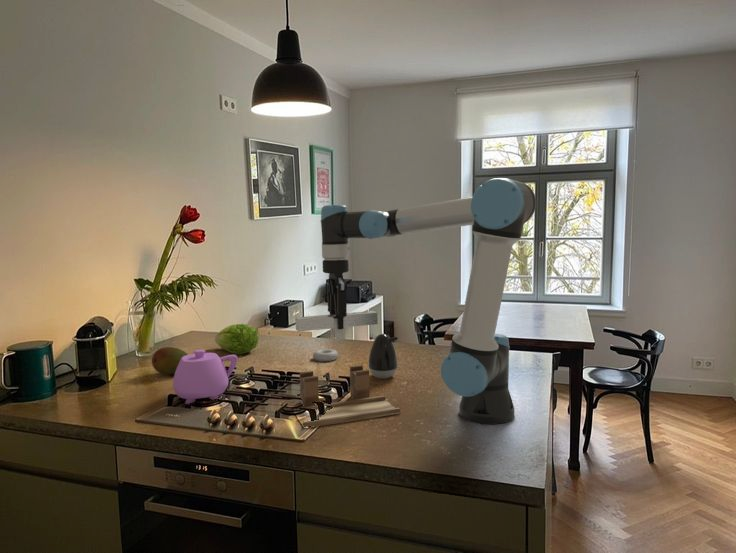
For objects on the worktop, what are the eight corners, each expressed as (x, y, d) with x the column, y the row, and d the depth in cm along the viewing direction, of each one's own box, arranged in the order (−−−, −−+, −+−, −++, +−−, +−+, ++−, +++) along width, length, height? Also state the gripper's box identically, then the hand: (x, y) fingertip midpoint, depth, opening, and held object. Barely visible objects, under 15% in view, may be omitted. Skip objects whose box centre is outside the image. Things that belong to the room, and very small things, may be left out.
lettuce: (232, 331, 235) (209, 319, 225) (267, 330, 222) (244, 318, 213) (223, 358, 230) (199, 347, 220) (258, 359, 217) (234, 348, 207)
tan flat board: (400, 413, 149) (400, 408, 149) (303, 428, 139) (303, 423, 139) (383, 399, 160) (383, 395, 160) (293, 413, 150) (293, 408, 150)
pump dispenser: (396, 381, 178) (395, 337, 176) (365, 380, 180) (365, 336, 178) (400, 373, 188) (399, 331, 186) (371, 371, 190) (371, 330, 188)
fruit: (148, 374, 190) (146, 347, 189) (181, 366, 199) (180, 341, 198) (162, 380, 182) (160, 352, 181) (196, 372, 191) (194, 346, 190)
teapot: (234, 381, 180) (232, 338, 179) (242, 400, 162) (240, 352, 160) (173, 389, 173) (170, 344, 171) (174, 409, 155) (171, 359, 153)
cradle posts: (369, 399, 160) (369, 370, 159) (305, 409, 153) (304, 378, 152) (362, 393, 166) (361, 365, 165) (300, 402, 159) (299, 372, 158)
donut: (333, 355, 215) (310, 357, 211) (333, 347, 214) (310, 349, 211) (341, 361, 205) (316, 363, 202) (341, 352, 205) (316, 354, 201)
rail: (377, 324, 157) (377, 312, 156) (298, 331, 149) (297, 319, 148) (373, 322, 160) (373, 310, 160) (295, 329, 152) (295, 317, 151)
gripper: (356, 260, 146) (359, 342, 148) (339, 256, 161) (341, 331, 164) (330, 261, 143) (333, 345, 145) (315, 257, 159) (318, 334, 161)
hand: (337, 338), depth 155 cm, fingers closed on rail, 3 cm apart
